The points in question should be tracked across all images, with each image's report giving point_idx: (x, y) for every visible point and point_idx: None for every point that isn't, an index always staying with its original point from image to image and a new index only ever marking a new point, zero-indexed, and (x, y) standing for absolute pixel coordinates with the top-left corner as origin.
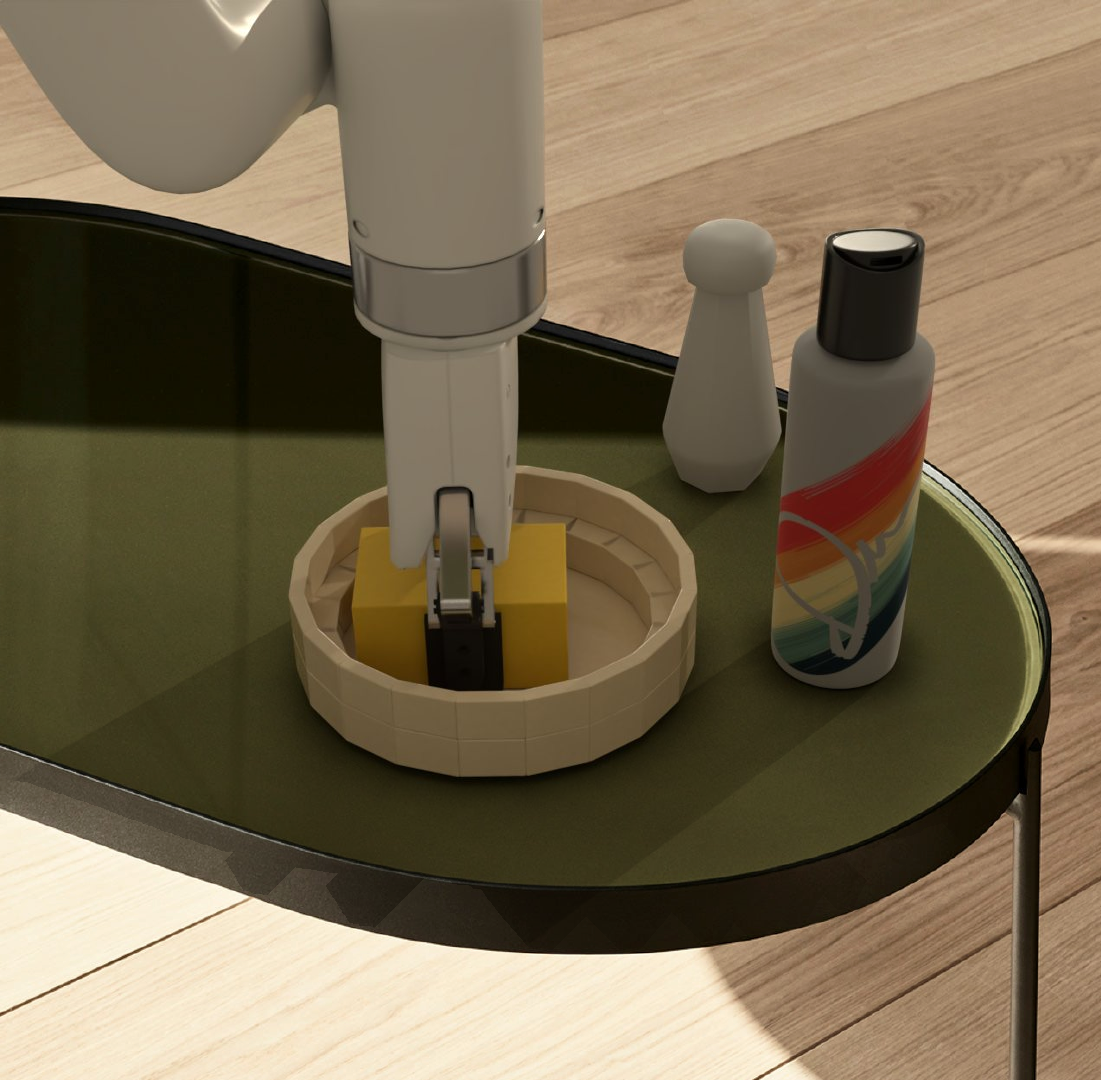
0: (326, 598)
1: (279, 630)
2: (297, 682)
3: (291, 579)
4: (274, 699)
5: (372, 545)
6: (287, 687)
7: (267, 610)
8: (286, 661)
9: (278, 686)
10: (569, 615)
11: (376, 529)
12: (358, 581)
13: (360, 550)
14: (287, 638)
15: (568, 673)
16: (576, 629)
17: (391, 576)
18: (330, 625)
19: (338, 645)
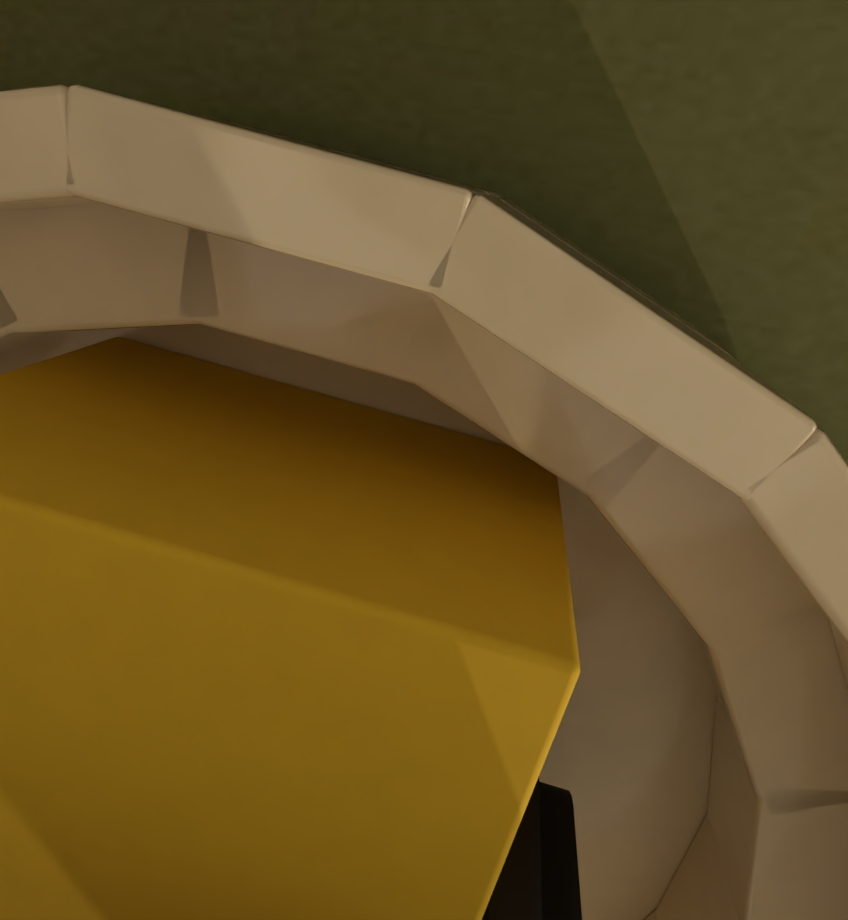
0: (431, 323)
1: (599, 108)
2: (268, 131)
3: (240, 134)
4: (187, 26)
5: (370, 678)
6: (246, 88)
7: (754, 75)
8: (397, 107)
9: (258, 53)
10: None
11: (522, 737)
12: (25, 529)
13: (333, 609)
14: (537, 133)
15: None
16: None
17: (64, 689)
18: (221, 302)
19: (79, 308)
